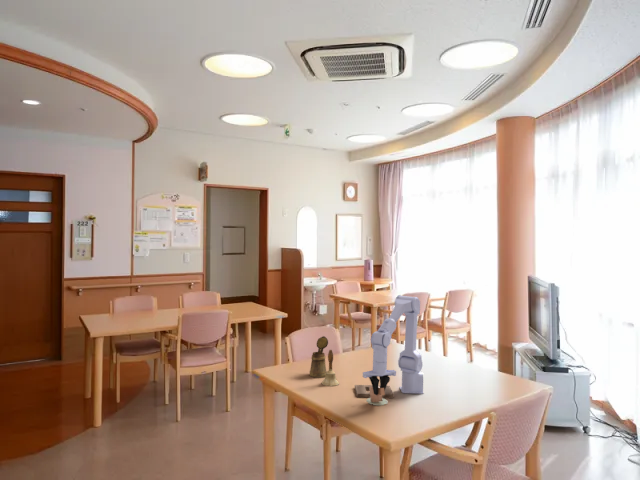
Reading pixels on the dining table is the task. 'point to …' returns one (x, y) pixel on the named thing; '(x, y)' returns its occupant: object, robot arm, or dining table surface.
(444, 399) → the dining table surface
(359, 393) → the walnut stand
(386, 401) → the sage mat
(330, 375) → the hand bell
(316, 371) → the wooden mug
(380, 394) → the peach rounded piece
